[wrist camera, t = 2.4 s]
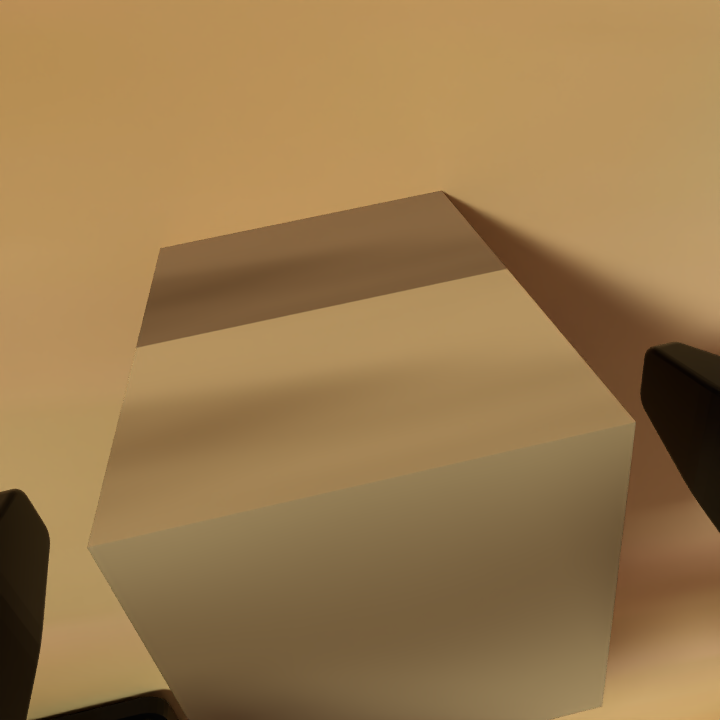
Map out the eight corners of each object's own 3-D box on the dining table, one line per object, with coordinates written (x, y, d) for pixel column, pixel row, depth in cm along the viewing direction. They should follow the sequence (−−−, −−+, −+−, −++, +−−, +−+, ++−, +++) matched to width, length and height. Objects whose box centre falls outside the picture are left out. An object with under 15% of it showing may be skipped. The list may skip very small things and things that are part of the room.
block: (458, 408, 13) (602, 706, 8) (234, 459, 12) (234, 799, 8) (441, 189, 10) (635, 422, 5) (160, 247, 10) (86, 546, 5)
